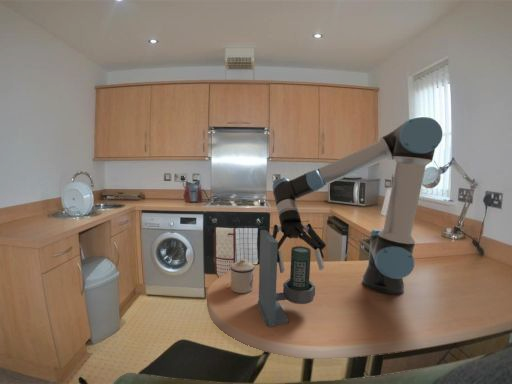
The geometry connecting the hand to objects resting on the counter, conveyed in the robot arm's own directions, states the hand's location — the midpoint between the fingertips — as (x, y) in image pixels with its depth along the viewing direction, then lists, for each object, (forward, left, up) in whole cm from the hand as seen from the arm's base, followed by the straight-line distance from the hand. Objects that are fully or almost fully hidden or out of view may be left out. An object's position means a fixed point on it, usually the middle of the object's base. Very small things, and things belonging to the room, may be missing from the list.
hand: (302, 270), depth 85 cm
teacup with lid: (+16, -22, -15) cm, 31 cm away
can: (0, -2, -9) cm, 9 cm away
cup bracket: (+4, -2, -15) cm, 16 cm away
